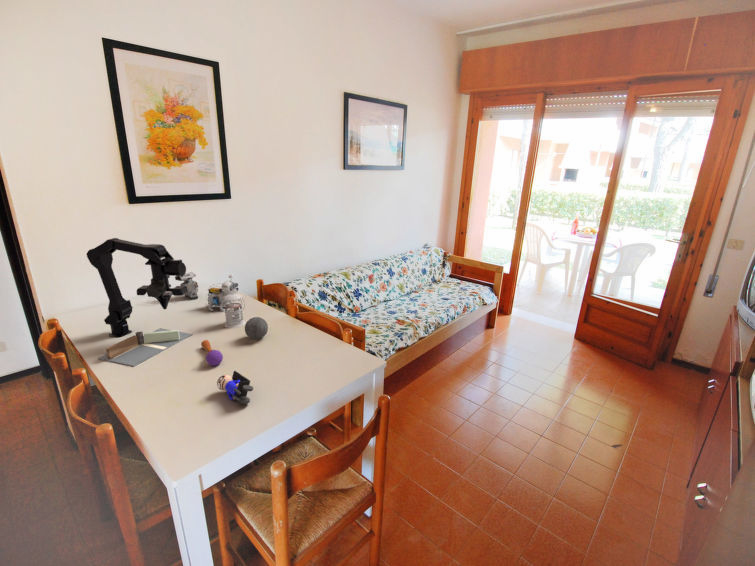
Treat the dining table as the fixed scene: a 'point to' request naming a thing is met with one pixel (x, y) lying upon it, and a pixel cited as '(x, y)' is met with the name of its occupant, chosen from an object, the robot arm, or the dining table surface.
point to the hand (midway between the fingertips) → (165, 309)
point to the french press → (236, 320)
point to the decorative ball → (256, 328)
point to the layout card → (144, 350)
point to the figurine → (189, 285)
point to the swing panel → (161, 336)
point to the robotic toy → (221, 295)
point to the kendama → (212, 354)
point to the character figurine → (235, 387)
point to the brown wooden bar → (125, 345)
